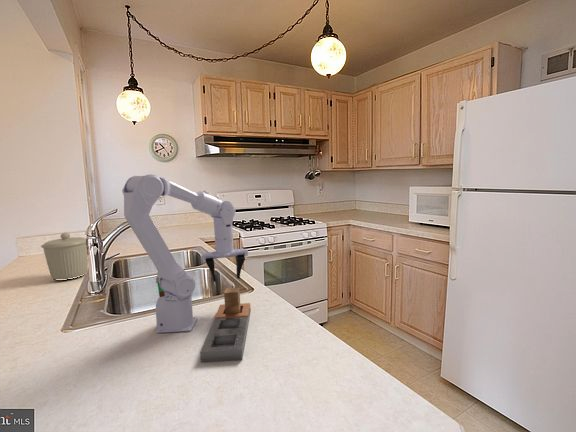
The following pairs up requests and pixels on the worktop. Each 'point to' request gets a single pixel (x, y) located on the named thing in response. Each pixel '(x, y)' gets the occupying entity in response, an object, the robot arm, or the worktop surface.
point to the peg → (232, 300)
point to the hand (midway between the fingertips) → (226, 279)
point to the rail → (226, 335)
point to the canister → (66, 256)
